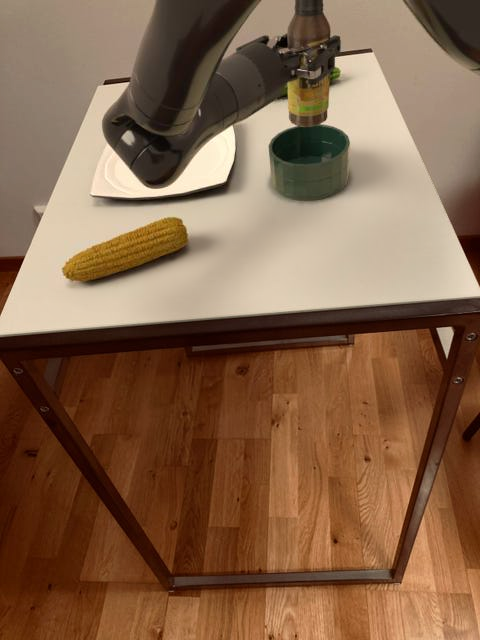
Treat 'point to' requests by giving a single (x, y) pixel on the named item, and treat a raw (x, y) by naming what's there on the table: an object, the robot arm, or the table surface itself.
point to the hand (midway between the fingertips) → (317, 39)
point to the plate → (198, 176)
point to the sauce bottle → (303, 30)
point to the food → (127, 250)
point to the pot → (309, 162)
